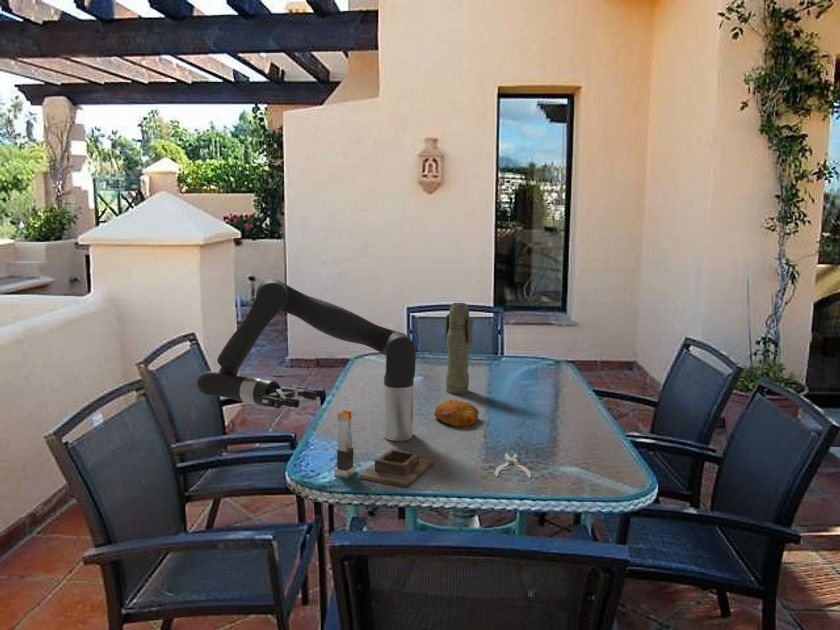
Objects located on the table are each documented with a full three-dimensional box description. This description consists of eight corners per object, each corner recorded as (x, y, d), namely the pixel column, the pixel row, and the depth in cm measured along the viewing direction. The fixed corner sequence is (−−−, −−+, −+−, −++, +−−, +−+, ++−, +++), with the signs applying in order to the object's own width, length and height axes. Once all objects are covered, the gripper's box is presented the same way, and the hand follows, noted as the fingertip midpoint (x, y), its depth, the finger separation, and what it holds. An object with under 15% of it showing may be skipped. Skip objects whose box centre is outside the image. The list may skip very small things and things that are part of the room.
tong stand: (389, 455, 203) (389, 442, 202) (433, 464, 197) (433, 450, 197) (359, 477, 187) (359, 463, 186) (405, 487, 181) (406, 473, 180)
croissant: (452, 436, 227) (454, 414, 225) (426, 417, 239) (428, 396, 237) (487, 428, 235) (489, 406, 232) (460, 409, 247) (462, 389, 245)
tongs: (343, 468, 193) (343, 408, 190) (356, 471, 191) (356, 410, 188) (334, 475, 188) (333, 413, 185) (346, 478, 187) (346, 415, 184)
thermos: (465, 396, 265) (467, 306, 259) (438, 391, 271) (440, 303, 265) (475, 391, 272) (478, 303, 266) (449, 386, 278) (451, 300, 272)
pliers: (495, 472, 189) (493, 452, 204) (495, 478, 189) (493, 457, 204) (531, 474, 188) (527, 454, 203) (531, 479, 188) (527, 459, 203)
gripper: (243, 384, 191) (292, 393, 184) (274, 373, 203) (321, 381, 197) (244, 411, 192) (292, 420, 185) (274, 398, 205) (321, 406, 198)
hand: (307, 399), depth 191 cm, fingers open, 8 cm apart
